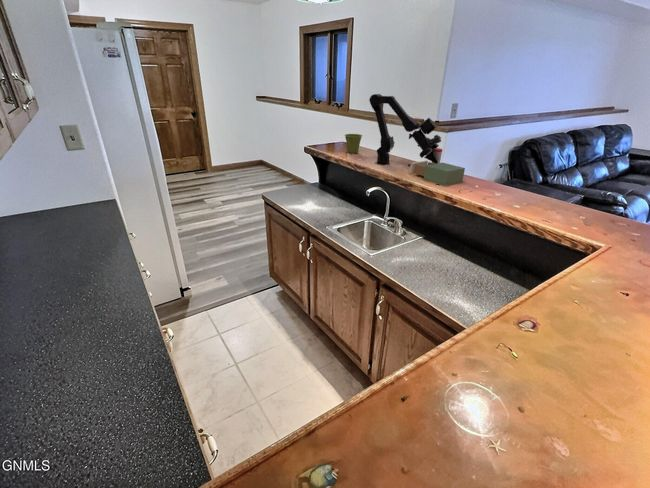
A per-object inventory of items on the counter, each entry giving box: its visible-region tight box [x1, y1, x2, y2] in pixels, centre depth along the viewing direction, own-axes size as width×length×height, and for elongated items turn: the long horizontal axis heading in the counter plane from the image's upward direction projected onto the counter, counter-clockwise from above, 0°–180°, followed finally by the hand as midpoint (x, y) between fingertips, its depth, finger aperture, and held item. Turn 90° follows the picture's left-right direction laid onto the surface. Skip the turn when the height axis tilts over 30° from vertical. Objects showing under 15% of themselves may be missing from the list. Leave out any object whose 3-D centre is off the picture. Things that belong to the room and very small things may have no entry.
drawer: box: [407, 160, 435, 177], centre depth 185 cm, size 17×12×5 cm
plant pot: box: [344, 133, 363, 154], centre depth 234 cm, size 12×12×11 cm
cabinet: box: [423, 162, 466, 187], centre depth 176 cm, size 14×14×7 cm
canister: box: [431, 147, 444, 164], centre depth 193 cm, size 5×5×12 cm
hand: (438, 162), depth 193 cm, fingers closed on canister, 4 cm apart
